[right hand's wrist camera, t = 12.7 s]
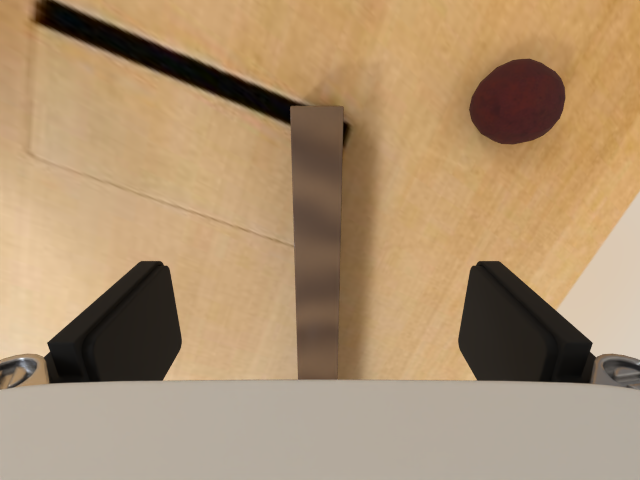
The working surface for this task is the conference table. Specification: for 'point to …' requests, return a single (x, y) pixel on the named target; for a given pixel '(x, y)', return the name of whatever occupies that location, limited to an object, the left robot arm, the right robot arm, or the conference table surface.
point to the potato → (518, 102)
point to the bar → (317, 236)
